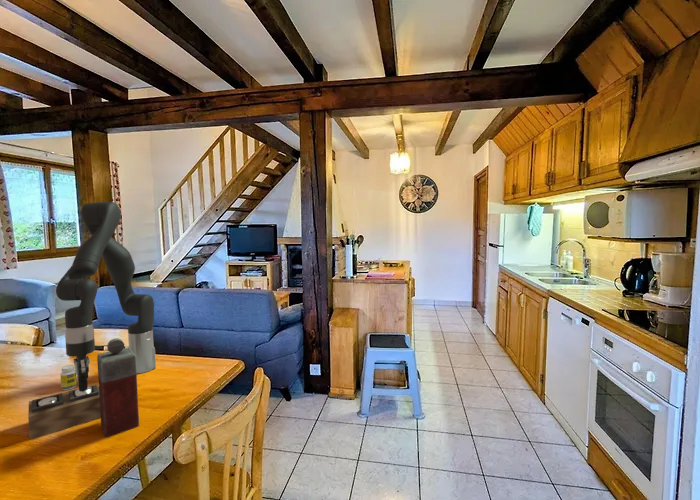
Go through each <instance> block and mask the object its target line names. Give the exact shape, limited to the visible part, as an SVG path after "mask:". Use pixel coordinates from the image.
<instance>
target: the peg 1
mask: <svg viewBox="0 0 700 500" xmlns="http://www.w3.org/2000/svg"><path fill="white" fill-rule="evenodd" d="M54 402H57V398H56V397H49V398H45V399H43V400H41V401H39V402H38V405H39V406H43V405H47V404H50V403H54Z"/></svg>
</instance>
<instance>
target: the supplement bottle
mask: <svg viewBox="0 0 700 500" xmlns="http://www.w3.org/2000/svg"><path fill="white" fill-rule="evenodd" d="M77 382H78V379H77V374H76V372H75V366H74V364H68V365H65V366H62V367H61V372H60V387H61V390H62V391H71V390H74V389H76V387H77V385H78V383H77Z"/></svg>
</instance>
